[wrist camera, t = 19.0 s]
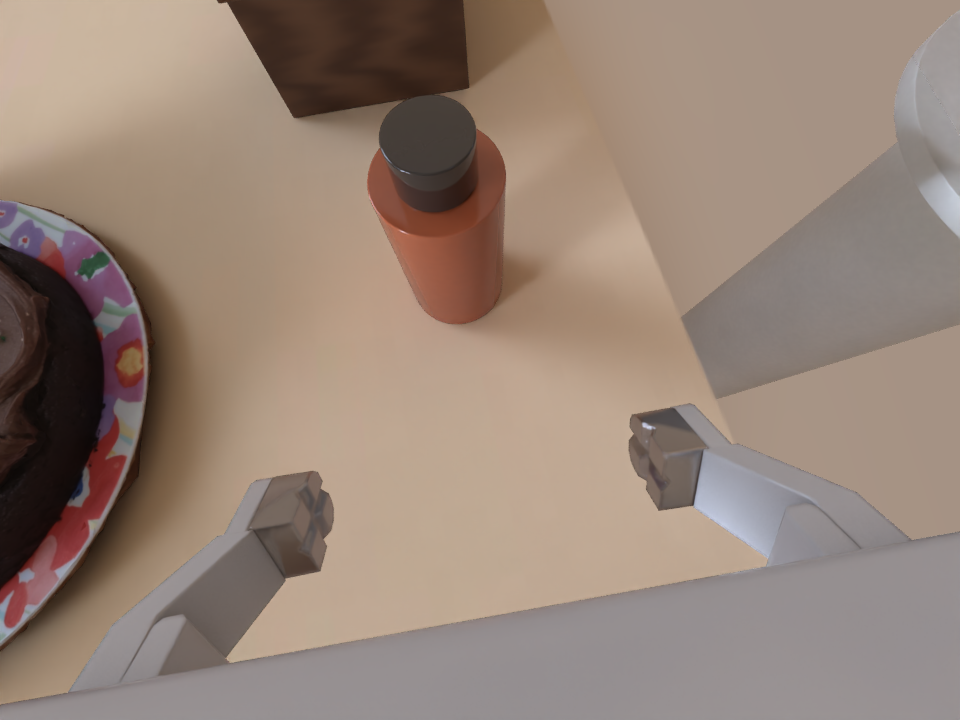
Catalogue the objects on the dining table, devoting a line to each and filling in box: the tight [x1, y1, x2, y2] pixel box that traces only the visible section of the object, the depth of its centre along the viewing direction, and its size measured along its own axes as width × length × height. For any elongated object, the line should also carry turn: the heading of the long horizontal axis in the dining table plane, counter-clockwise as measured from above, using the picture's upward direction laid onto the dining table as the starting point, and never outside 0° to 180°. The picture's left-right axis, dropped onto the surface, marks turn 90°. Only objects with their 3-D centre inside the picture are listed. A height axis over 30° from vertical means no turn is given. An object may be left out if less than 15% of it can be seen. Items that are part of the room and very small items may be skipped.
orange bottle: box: [367, 95, 506, 324], centre depth 18 cm, size 5×5×11 cm
